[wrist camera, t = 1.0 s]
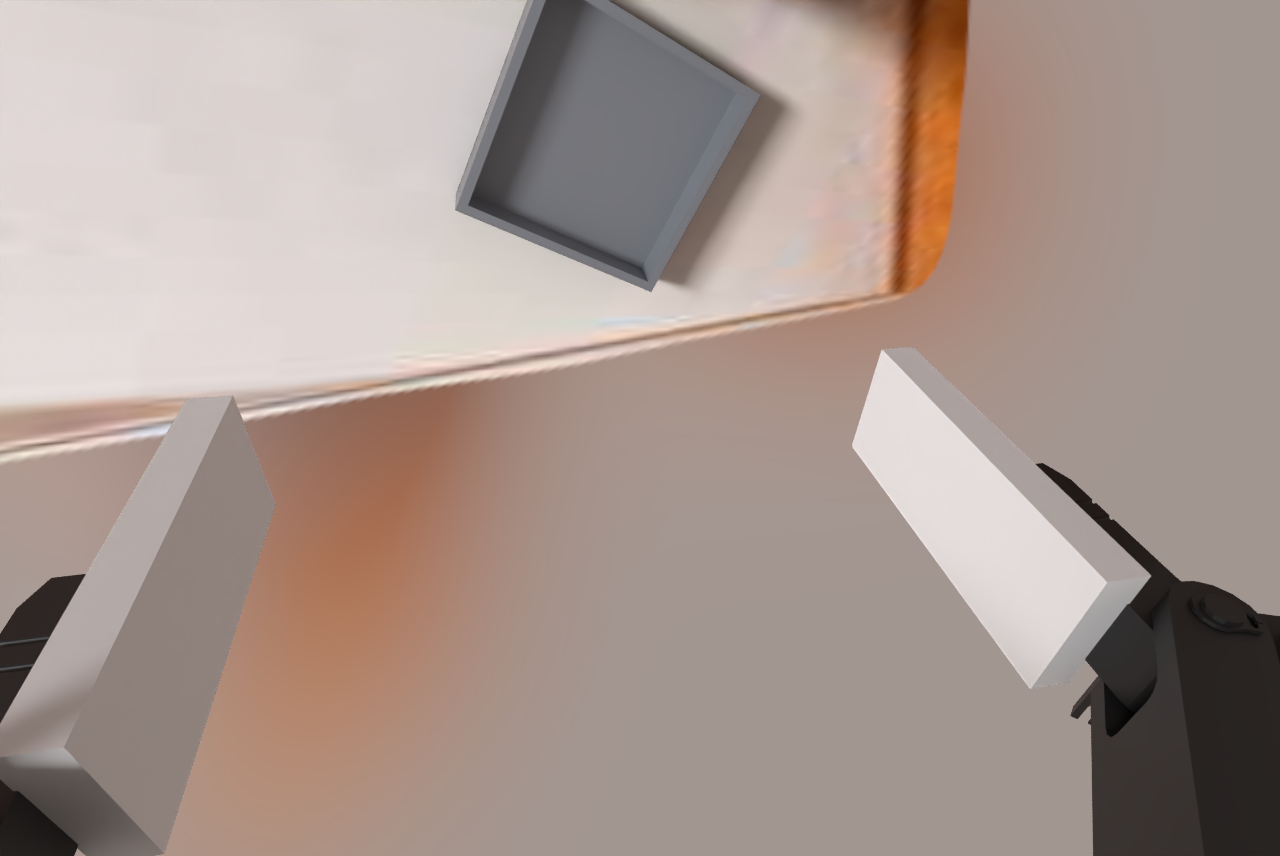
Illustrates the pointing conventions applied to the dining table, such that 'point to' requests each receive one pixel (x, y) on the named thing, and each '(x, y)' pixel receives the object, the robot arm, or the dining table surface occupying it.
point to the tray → (601, 138)
